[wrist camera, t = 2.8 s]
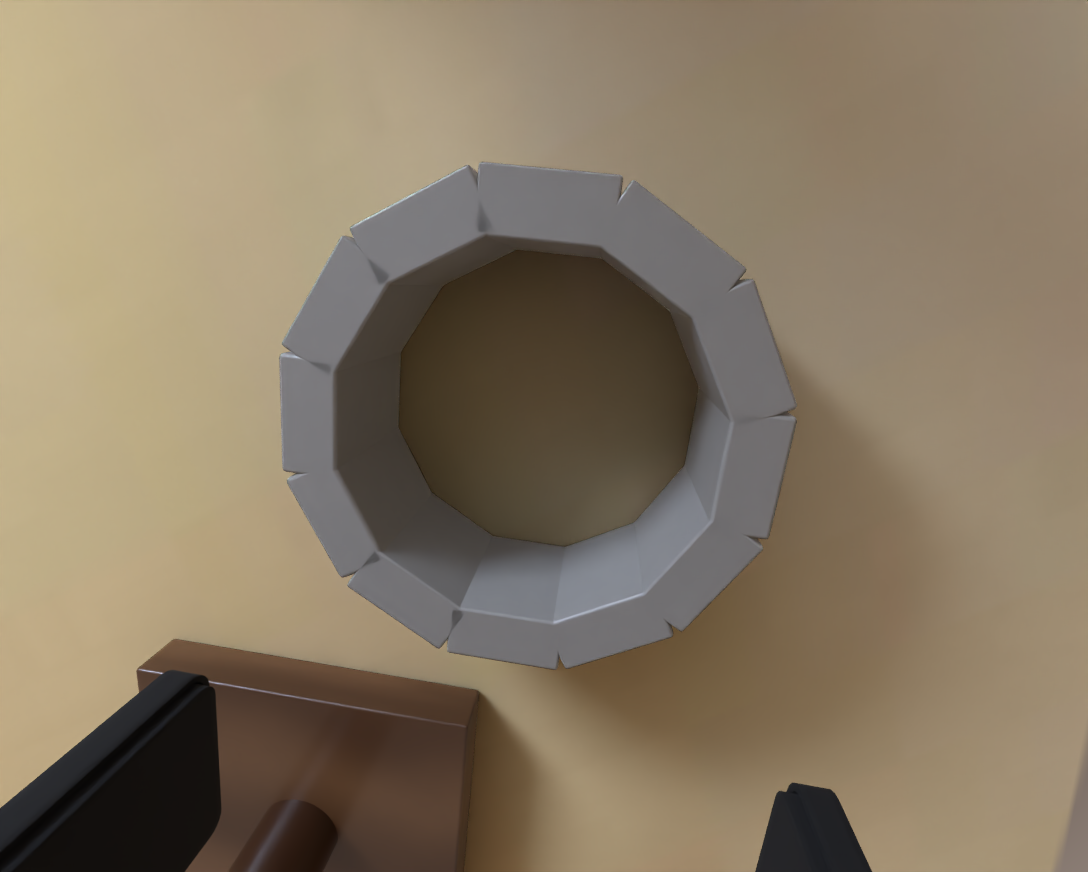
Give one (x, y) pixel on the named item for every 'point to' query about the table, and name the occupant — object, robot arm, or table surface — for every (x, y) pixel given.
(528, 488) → the table surface
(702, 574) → the tape roll
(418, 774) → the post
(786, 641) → the table surface
